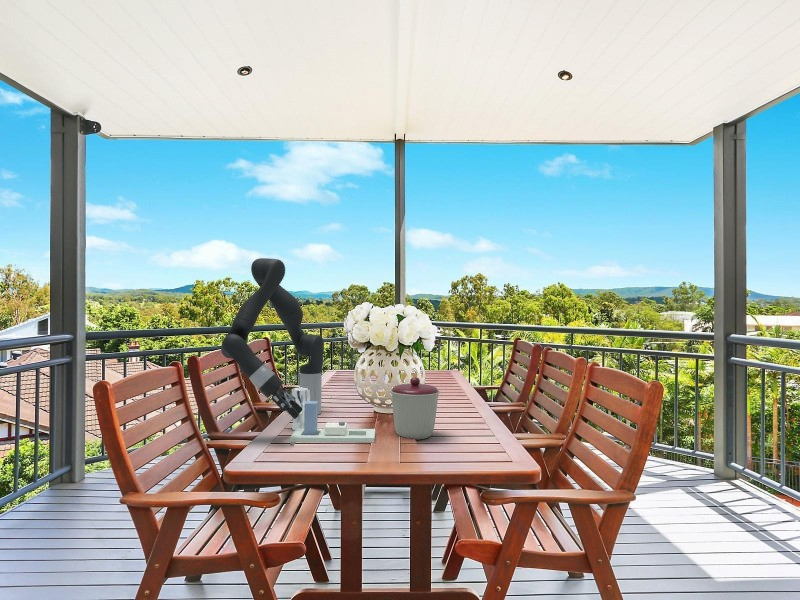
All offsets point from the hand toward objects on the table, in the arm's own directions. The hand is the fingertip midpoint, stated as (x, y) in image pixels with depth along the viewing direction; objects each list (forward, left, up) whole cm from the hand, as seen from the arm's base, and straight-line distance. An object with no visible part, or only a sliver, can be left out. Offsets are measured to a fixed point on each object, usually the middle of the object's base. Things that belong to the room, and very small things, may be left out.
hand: (299, 414), depth 181 cm
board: (0, +12, -9) cm, 15 cm away
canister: (-6, +40, -9) cm, 42 cm away
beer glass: (-15, -2, -9) cm, 18 cm away
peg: (0, +4, -8) cm, 9 cm away
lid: (0, +13, -6) cm, 14 cm away
